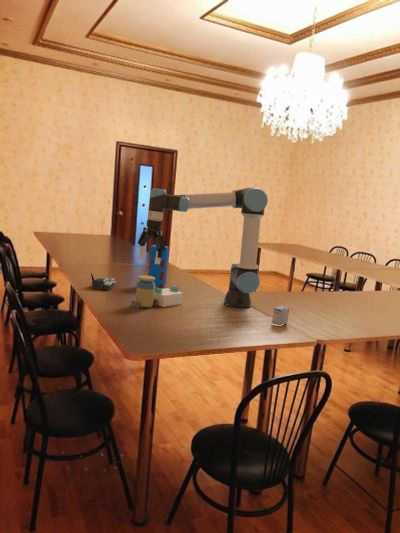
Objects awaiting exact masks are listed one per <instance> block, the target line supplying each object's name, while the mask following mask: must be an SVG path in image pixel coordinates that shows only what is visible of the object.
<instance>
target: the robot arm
mask: <svg viewBox="0 0 400 533" xmlns="http://www.w3.org/2000/svg"><path fill="white" fill-rule="evenodd" d="M268 199H269V198H268V195H267V193H266V192H265V190H263V189H261V188H260V187H246V188H242V189H235V190H232V191H230V192H229V191H227V192H213V193H212V192H211V193H209V192H208V193H194V194H193V193H192V194H168V193H167V190H166V189H161V188H154V187H153V188H152V189H151V190H150V195H149V203H148V212H147V219H146V227H145V226H144V227H142V228H143V229H142V232H141V234H140V236H139V238H138V241H137V244H139V255H138V259H145V253H146V244H147V242H148V241H150V239H152V240H153V241H154V245H156V247H157V251H156V258H155V264H160V260H161V256H162V251H165V250H166V249H165V246H166V244H165V238H164V230H160V229H162V223H163V222H162V221H163V219H164V218H163V217H164V210H169V211H174V212H180V213H181V212H182V213H187V212H188V210H191V209H207V208H208V209H209V208H210V209H211V208H226V207H228V208H229V207H231V208H233V209H241V211H240V212H241V213H240V214H241V215H242V216H243V220H242V221H243V223H242V224H243V225H242V234H241V235H242V236H241V243H240V244H241V245H240V246H241V247H240V258H239V263H231V266H230V274H229V276H230V277H229V282H228V283H229V284H228V291H227V293H226V295H225V297H224V301H223V304H225V305H226V304H228V305H227V306H229V305H231V306H230V307H232V306H236V307H235V308H239V307H247V308H251V307H252V300H251V294H252V293H254V292H256V291H257V290H258V289H259V287H260V282H261V281H260V277H259V271H260V269H259V268H260V267H259V265H258V264H257V260H258V259H257V257H258V252H259V251H258V250H259V240H260V239H259V238H260V228H261V219H262V218H263V217H264V216H265V209H266V207H267V205H268ZM250 306H251V307H250Z"/></svg>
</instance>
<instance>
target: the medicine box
mask: <svg viewBox="0 0 400 533" xmlns="http://www.w3.org/2000/svg"><path fill="white" fill-rule="evenodd" d="M289 313H290V308H289V307H287V306H283V305H281V306H278V307H274V308H273V312H272V318H271V319H272V320H271V324H272V323H273V324H277V325H282V324H287V325H288V320H289Z"/></svg>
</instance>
